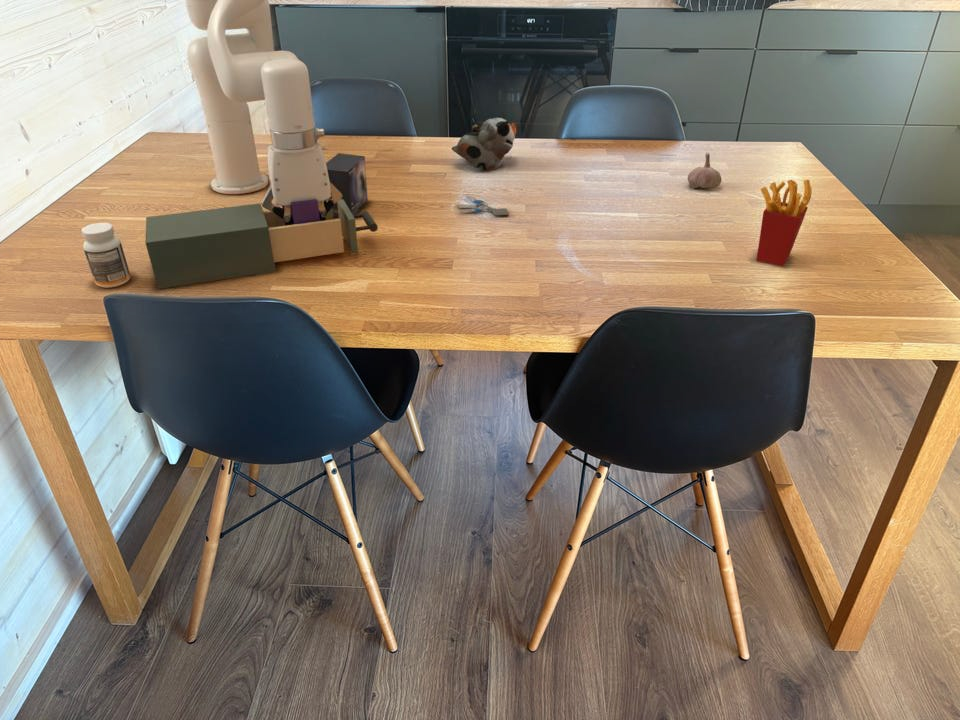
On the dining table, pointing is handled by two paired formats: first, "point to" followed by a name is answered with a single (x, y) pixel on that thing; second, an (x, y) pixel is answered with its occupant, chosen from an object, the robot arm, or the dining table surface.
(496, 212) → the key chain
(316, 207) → the snack carton
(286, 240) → the drawer
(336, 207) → the small box
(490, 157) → the lucky cat figurine
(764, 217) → the french fries
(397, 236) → the dining table surface
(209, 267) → the cabinet
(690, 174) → the garlic bulb
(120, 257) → the pill bottle
